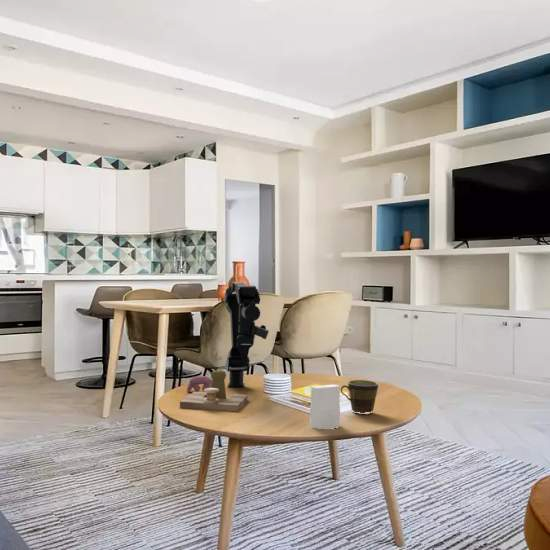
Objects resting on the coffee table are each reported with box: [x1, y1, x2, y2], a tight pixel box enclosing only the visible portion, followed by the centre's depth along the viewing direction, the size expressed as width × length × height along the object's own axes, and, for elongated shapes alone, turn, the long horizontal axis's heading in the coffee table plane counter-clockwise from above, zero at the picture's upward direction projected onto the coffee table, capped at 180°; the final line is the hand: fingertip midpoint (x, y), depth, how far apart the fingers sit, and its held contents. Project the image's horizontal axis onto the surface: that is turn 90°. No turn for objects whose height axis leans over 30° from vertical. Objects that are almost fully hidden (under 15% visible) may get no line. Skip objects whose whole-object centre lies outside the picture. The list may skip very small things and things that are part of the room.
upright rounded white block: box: [309, 383, 341, 430], centre depth 164 cm, size 9×9×12 cm
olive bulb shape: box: [210, 369, 227, 399], centre depth 192 cm, size 6×6×11 cm
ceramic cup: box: [340, 379, 379, 413], centre depth 180 cm, size 13×10×10 cm
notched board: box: [179, 388, 249, 412], centre depth 188 cm, size 16×20×6 cm
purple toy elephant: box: [186, 375, 213, 393], centre depth 207 cm, size 10×5×7 cm, turn 85°
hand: (245, 360), depth 203 cm, fingers open, 9 cm apart
